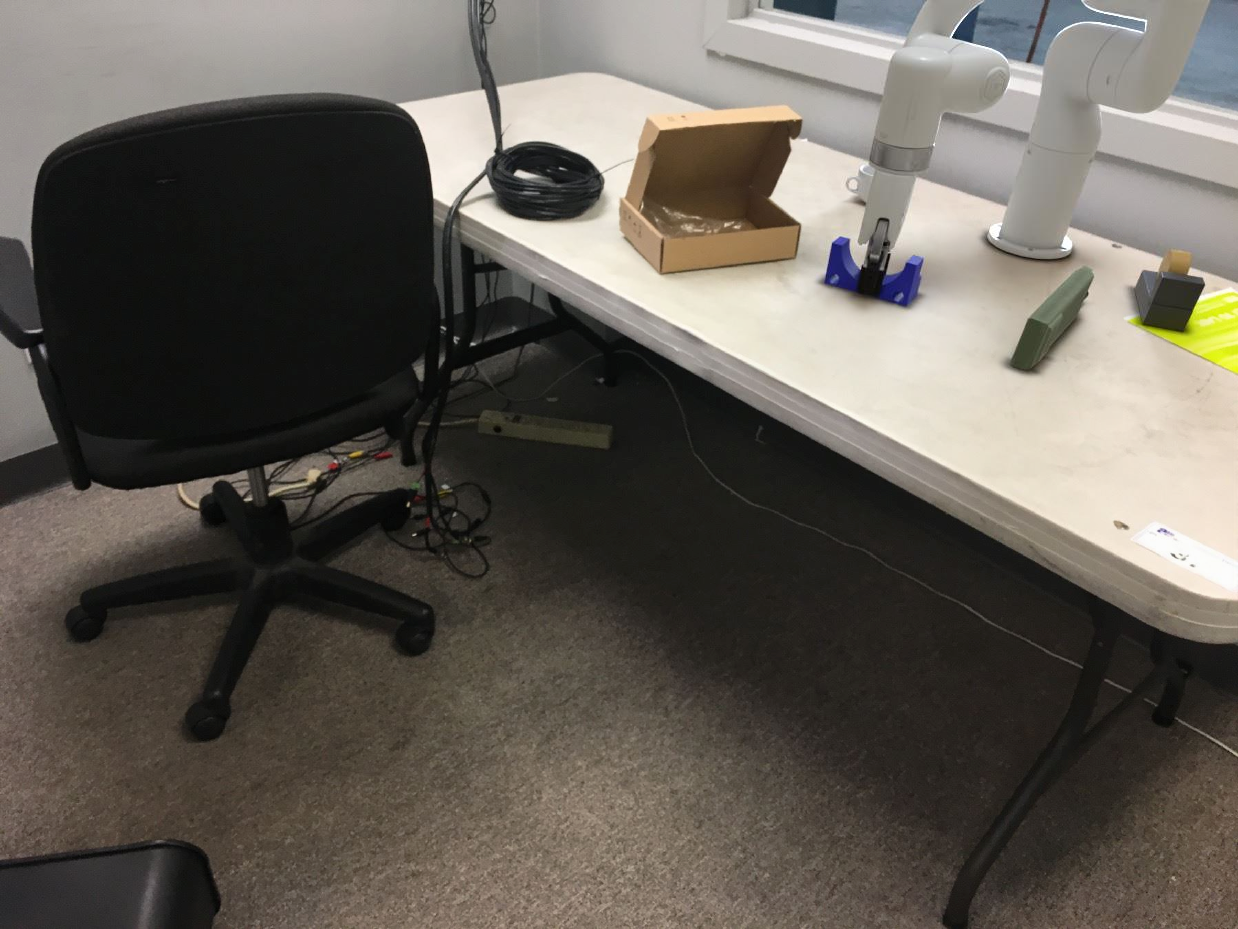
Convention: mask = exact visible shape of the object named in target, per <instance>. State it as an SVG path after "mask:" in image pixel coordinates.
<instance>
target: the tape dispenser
mask: <svg viewBox="0 0 1238 929" xmlns="http://www.w3.org/2000/svg"><path fill="white" fill-rule="evenodd" d="M1192 258H1193V257H1192V253H1191V252H1189V251H1182V250H1176V249H1169V250H1167V252H1166V253H1165V254H1164V256H1163V258H1162V260H1161V262H1160V265H1159V268H1158V271H1153V270H1147V269H1142V270H1141V272H1140V274H1139V277H1138V279H1137V282H1136V284H1135V286H1134V292H1135V297H1136V301H1137V305H1138V310H1139V311H1138V312H1139V315H1140V320H1141V323H1142V325H1145V326H1151V327H1155V328H1161V329H1167V330H1174V331H1179V332H1184V331H1185V329H1186V328H1187V325H1188V323H1189V321H1190V319H1191V317H1192V315H1193V313H1194V310H1195V307H1196V305H1197V303H1198V302H1199V299H1200V297H1201V295H1202V293H1203V291H1204V289H1205V287H1206V282H1205V279H1204V278H1203V277H1202V276H1196V275H1190V274H1189V271H1190V268H1191V265H1192Z"/></svg>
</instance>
